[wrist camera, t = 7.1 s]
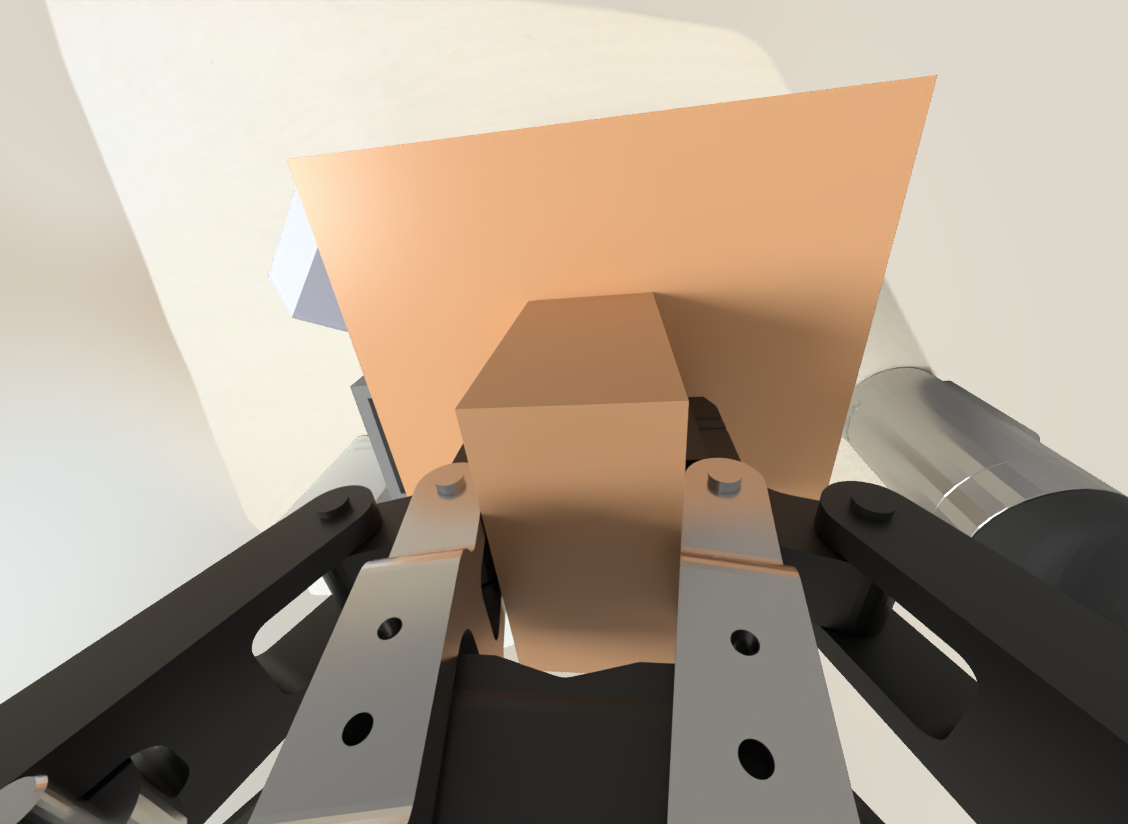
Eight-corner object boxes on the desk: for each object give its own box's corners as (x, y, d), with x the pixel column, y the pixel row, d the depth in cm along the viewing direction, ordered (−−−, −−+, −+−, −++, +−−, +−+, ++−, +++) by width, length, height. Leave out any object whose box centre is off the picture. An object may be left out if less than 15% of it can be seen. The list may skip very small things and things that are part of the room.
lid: (867, 96, 10) (1500, -99, 3) (780, 520, 16) (907, 781, 9) (346, 162, 11) (-58, 142, 5) (453, 519, 18) (351, 737, 11)
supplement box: (355, 434, 49) (263, 528, 36) (427, 429, 47) (359, 525, 34) (381, 494, 53) (308, 597, 40) (448, 491, 52) (395, 597, 39)
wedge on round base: (379, 324, 42) (436, 207, 36) (341, 348, 36) (403, 213, 30) (293, 268, 40) (339, 134, 34) (238, 284, 34) (283, 126, 28)
